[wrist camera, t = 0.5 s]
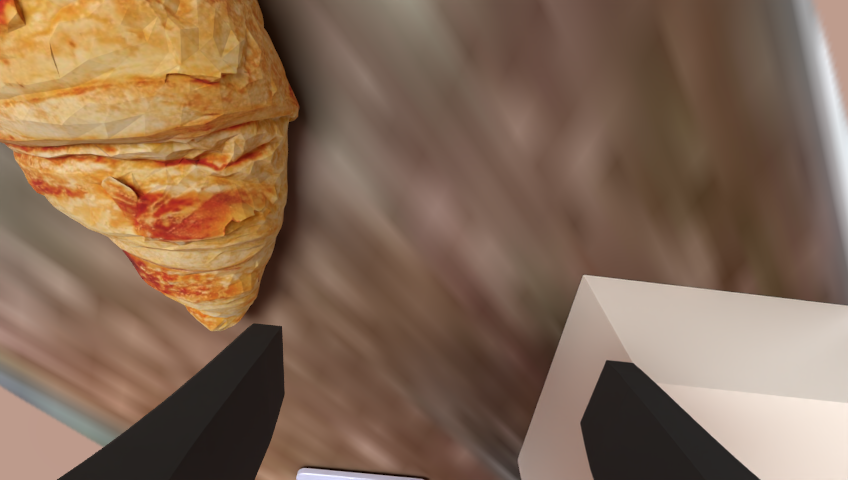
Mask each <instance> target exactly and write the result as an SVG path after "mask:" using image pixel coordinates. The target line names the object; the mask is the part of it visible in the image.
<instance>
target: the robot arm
mask: <svg viewBox="0 0 848 480" xmlns="http://www.w3.org/2000/svg"><path fill="white" fill-rule="evenodd" d="M284 394H285V393H284V367H283V341H282V326H273V325H263V324H252V325H251V326H249V327H248V328H247V329H246V330H245V331H244V332H243V333H242V334H240V335H239V336H238V337H237V338H236V339H235V340H234V341H233V342H232V343H231V344H229V345H228V346H227V347H226V348H225V349H224V350H223V351H222V352H221V353H219V354H218V355H217V356H216V357H215V358H214V359H213V360H212V361H210V362H209V363H208V364H207V365H206V366H205V367H204V368H203V369H201V370H200V371H199V372H198V373H197V374H196V375H194V376H193V377H192V378H191V379H190V380H188V381H187V382H186V383H185V384H184V385H183V386H181V387H180V388H179V389H178V390H177V391H176V392H174V393H173V394H172V395H171V396H170V397H168V398H167V399H166V400H165V401H163V402H162V403H161V404H160V405H158V406H157V407H156V408H155V409H153V410H152V411H151V412H149V413H148V414H147V415H146V416H144V417H143V418H142V419H140V420H139V421H138V422H137V423H135V424H134V425H133V426H131V427H130V428H129V429H128V430H126V431H125V432H124V433H122V434H121V435H120V436H118V437H117V438H116V439H114V440H113V441H112V442H110V443H109V444H107V445H106V446H105V447H103V448H102V449H101V450H99V451H98V452H96V453H95V454H94V455H92V456H91V457H89V458H88V459H87V460H85V461H84V462H82V463H81V464H79V465H78V466H76V467H75V468H73V469H72V470H71V471H69V472H68V473H66V474H65V475H63V476H62V477H60V478H59V479H57V480H255V477H256V475H257V472H258V470H259V468H260V465H261V463H262V460H263V458H264V456H265V453H266V451H267V448H268V446H269V444H270V441H271V438H272V435H273V432H274V429H275V425H276V422H277V419H278V415H279V412H280V408H281V405H282V401H283V398H284ZM580 425H581V430H582V435H583V440H584V445H585V449H586V454H587V458H588V462H589V466H590V470H591V473H592V476H593V479H594V480H760V479H759V478H758V477H757V476H756V475H755V474H753V473H752V472H751V471H750V470H749V469H748V468H747V467H745V466H744V465H743V464H742V463H741V462H740V461H739V460H738V459H736V458H735V457H734V456H733V455H732V454H731V453H730V452H729V451H728V450H726V449H725V448H724V447H723V446H722V445H721V444H720V443H719V442H718V441H717V440H716V439H714V438H713V437H712V436H711V435H710V434H709V433H708V432H707V431H706V430H705V429H704V428H703V427H702V426H700V425H699V424H698V423H697V422H696V421H695V420H694V419H693V418H692V417H691V416H690V415H689V414H688V413H687V412H686V411H685V410H684V409H682V408H681V407H680V406H679V405H678V404H677V403H676V402H675V401H674V400H673V399H672V398H671V397H670V396H669V395H668V394H667V393H666V392H665V391H664V390H662V389H661V388H660V387H659V386H658V385H657V384H656V383H655V382H654V381H653V380H652V379H651V378H650V377H649V376H647V375H646V374H645V373H644V372H643V371H642V370H641V369H640V368H638V367H637V366H636V365H635V364H634V363H630V362H621V361H611V360H606V362H605V365H604V367H603V369H602V372H601V374H600V377H599V379H598V381H597V384H596V386H595V388H594V391H593V393H592V396H591V398H590V400H589V403H588V405H587V407H586V410H585V412H584V415H583V417H582V419H581V422H580ZM296 480H424V479H420V478H409V477H398V476H388V475H377V474H366V473H355V472H345V471H334V470H323V469H313V468H302V469H300V470H299V471H298V474H297V477H296Z"/></svg>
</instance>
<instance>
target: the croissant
mask: <svg viewBox="0 0 848 480" xmlns="http://www.w3.org/2000/svg"><path fill="white" fill-rule="evenodd" d="M298 110H299V104H298V101H297V99H296V97H295V95H294V93H293V91H292V88H291V86H290V84H289V82H288V80H287V78H286V75H285V70H284V68H283V65H282V62H281V60H280V58H279V56H278V54H277V52H276V50H275V48H274V46H273V43H272V41H271V39H270V37H269V35H268V33H267V31H266V30H265V29H264V21H263V16H262V12H261V9H260V6H259V4H258V1H257V0H0V142H2V143H5V144H6V145H7V146H8V147H9V148H10V149H12V150H13V151H14V157H15V160H16V161H17V163H18V164H19V166H20V167H21V169H22V170H23V172H24V174H25V176H26V178H27V180H28V182H29V184H30V185H31V186H32V187H33V188H34V190H35V191H36V192H37V193H39V194H42V195H45V197H46V198H47V199H48V200H49V201H50V203H51V204H52V205H53V206H54V207H55V208H57V209H58V210H59V211H61V212H63V213H64V214H66V215H67V216H69V217H70V218H72V219H74V220H75V221H77V222H79V223H81V224H82V225H84V226H85V227H87V228H88V229H90V230H93V231H96V232H98V233H101V234H103V235H105V236H107V237H110V239H111V240H112V241H113V242H114V243H115V244H117V245H118V246H119V247H120V248H121V249H122V250H123V251H124V253H125V254H126V255H127V257H128V258H129V259H130V261H131V262H132V264H133V265H134V267H135V268H136V270H137V272H138V273H139V275H140V276H141V278H142V279H143V280H144V281H145V282H146V283H147V284H148V285H150V286H151V287H153V288H155V289H156V290H158V291H160V292H162V293H163V294H164V295H166V296H167V297H169V298H171V299H173V300H175V301H178V302H180V303H182V304H184V305H185V306H186V308H187V310H188V311H189V312H190V313H191V314H192V315H193V316H194V317H195V318H196V319H197V320H198V321H199V322H200V323H202V324H203V325H204V326H205V327H207V328H208V329H209V330H210V331H222V330H224V329H227V328H229V327H231V326H233V325H235V324H236V323H238V322H239V321H240V320H241V319H242V317H243V316H244V315H245V313H246V312H247V310H248V309H249V307H250V306H251V305H252V304H253V302H254V300H255V299H256V298H257V295H258V291H259V286H260V281H261V278H262V275H263V272H264V269H265V266H266V264H267V263H268V261H269V259H270V258H271V255H272V252H273V249H274V246H275V240H276V236H277V235H278V233H279V231H280V229H281V227H282V223H283V214H284V207H285V205H286V202H287V192H288V184H287V157H288V136H287V130H288V124H289V122H291V121H294V120H295V119H296V118H297V117H298Z"/></svg>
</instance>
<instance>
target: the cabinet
mask: <svg viewBox="0 0 848 480" xmlns="http://www.w3.org/2000/svg"><path fill="white" fill-rule="evenodd" d="M606 360H611V361H621V362H630V363H634V364H635V365H636V366H637V367H638V368H640V369H641V370H642V371H643V372H644V373H645V374H646V375H647V376H649V377H650V378H651V379H652V380H653V381H654V382H655V383H656V384H657V385H658V386H659V387H660V388H661V389H662V390H664V391H665V392H666V393H667V394H668V395H669V396H670V397H671V398H672V399H673V400H674V401H675V402H676V403H677V404H678V405H679V406H680V407H681V408H682V409H684V410H685V411H686V412H687V413H688V414H689V415H690V416H691V417H692V418H693V419H694V420H695V421H696V422H697V423H698V424H699V425H700V426H702V427H703V428H704V429H705V430H706V431H707V432H708V433H709V434H710V435H711V436H712V437H713V438H714V439H716V440H717V441H718V442H719V443H720V444H721V445H722V446H723V447H724V448H725V449H726V450H728V451H729V452H730V453H731V454H732V455H733V456H734V457H735V458H736V459H738V460H739V461H740V462H741V463H742V464H743V465H744V466H745V467H747V468H748V469H749V470H750V471H751V472H752V473H753V474H755V475H756V476H757V477H758V478H759V479H760V480H848V306H846V305H838V304H829V303H820V302H812V301H803V300H795V299H786V298H778V297H769V296H761V295H752V294H743V293H735V292H726V291H718V290H709V289H701V288H692V287H684V286H675V285H666V284H658V283H649V282H641V281H632V280H624V279H615V278H607V277H598V276H589V275H583V277H582V280H581V282H580V285H579V288H578V291H577V294H576V296H575V299H574V302H573V305H572V308H571V310H570V313H569V316H568V319H567V322H566V325H565V327H564V330H563V333H562V336H561V339H560V341H559V344H558V347H557V350H556V353H555V356H554V358H553V361H552V364H551V367H550V370H549V372H548V375H547V378H546V381H545V384H544V386H543V389H542V392H541V395H540V398H539V401H538V403H537V406H536V409H535V412H534V415H533V417H532V420H531V423H530V426H529V429H528V432H527V434H526V437H525V440H524V443H523V446H522V448H521V451H520V454H519V457H518V465H519V470H520V476H521V480H594V479H593V476H592V473H591V470H590V466H589V462H588V458H587V454H586V449H585V445H584V440H583V435H582V430H581V425H580V422H581V419H582V417H583V415H584V412H585V410H586V407H587V405H588V403H589V400H590V398H591V396H592V393H593V391H594V388H595V386H596V384H597V381H598V379H599V377H600V374H601V372H602V369H603V367H604V365H605V362H606Z"/></svg>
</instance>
